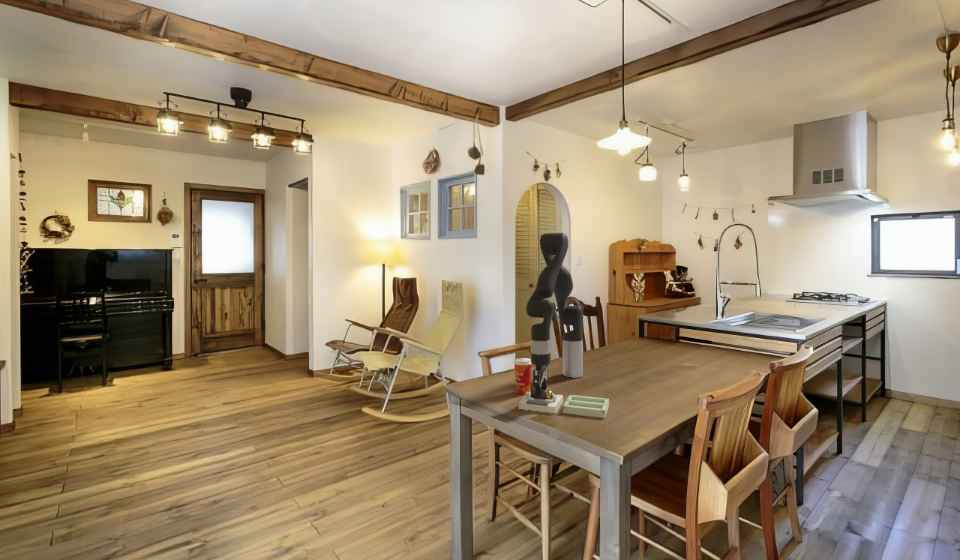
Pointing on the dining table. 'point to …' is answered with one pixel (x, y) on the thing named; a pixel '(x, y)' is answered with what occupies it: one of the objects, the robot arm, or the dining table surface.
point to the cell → (543, 394)
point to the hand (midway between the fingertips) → (541, 392)
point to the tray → (586, 406)
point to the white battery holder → (541, 403)
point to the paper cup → (523, 375)
